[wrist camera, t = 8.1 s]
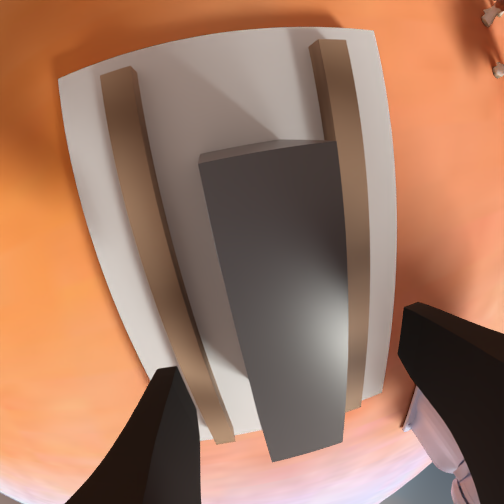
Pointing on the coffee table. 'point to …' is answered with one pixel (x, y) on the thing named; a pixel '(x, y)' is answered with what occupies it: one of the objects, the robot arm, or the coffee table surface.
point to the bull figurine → (497, 9)
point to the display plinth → (193, 201)
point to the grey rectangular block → (285, 282)
